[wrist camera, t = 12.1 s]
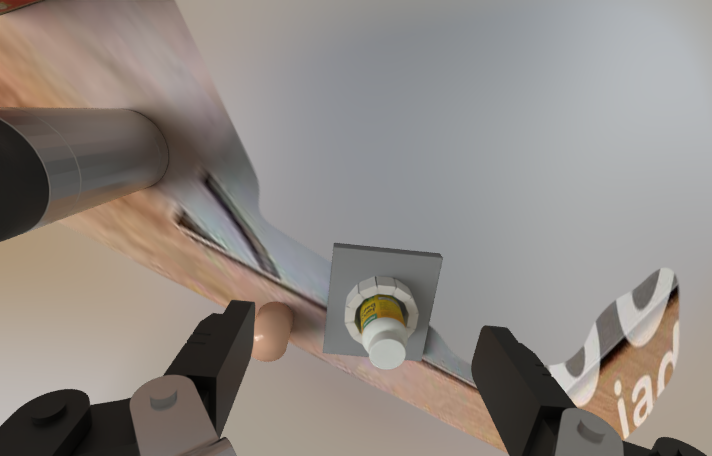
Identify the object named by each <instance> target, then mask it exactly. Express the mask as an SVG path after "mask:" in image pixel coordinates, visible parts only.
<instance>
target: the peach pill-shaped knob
mask: <svg viewBox="0 0 712 456" xmlns="http://www.w3.org/2000/svg"><path fill="white" fill-rule="evenodd" d="M293 321H294V315H293V313H292V311H291V309H290V308H289V307H288V306H286V305H285V304H283V303H280V302H270V303H267V304H265V305H263V306H262V307H261V308H260V310H259V312H258V314H257V316H256V319H255V324H254V343H253V350H252V354H251V356H252V357H254V358H255V359H257V360H260V361H264V362H270V361H275V360H277V359H279V358H280V357H282V355H283V354H284V353H285V351H286V347H287V344H288V340H289V336H290V332H291V329H292V325H293Z"/></svg>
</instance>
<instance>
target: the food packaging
mask: <svg viewBox="0 0 712 456" xmlns="http://www.w3.org/2000/svg"><path fill="white" fill-rule="evenodd" d="M40 1H43V0H0V15H1V14H4V13H7V12H10V11H13V10H16V9H19V8H22V7H24V6H27V5H30V4H33V3H37V2H40Z"/></svg>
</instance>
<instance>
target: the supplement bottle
mask: <svg viewBox="0 0 712 456" xmlns="http://www.w3.org/2000/svg"><path fill="white" fill-rule="evenodd" d="M360 317H361V334H362V343H363V346H364V348H365V350H366V351H367V352H368V353H369V358H370V360H371V362H372V364H373V365H375V366H376V367H378V368H380V369H385V370H388V369H394V368H396V367H398V366H399V365H401V364H402V362H403V361H404V359H405V357H406V350H405V347H406V345H407V341H408V334H407V330H406V326H405V323H404V319H403V316H402V312H401V309H400V305H399V303H398V301H397V299H396V298H395V297H394V296H393V295H384V294H377V295H374V296H372V297H369V298H366V299H364V300H363V302H362V304H361V307H360Z"/></svg>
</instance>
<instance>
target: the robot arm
mask: <svg viewBox="0 0 712 456" xmlns="http://www.w3.org/2000/svg"><path fill="white" fill-rule="evenodd" d="M168 157H169V154H168V148H167V144H166V142H165V139H164V137H163V135H162V134H161V132H160V130H159V129H158V128H157V127H156V126H155V125H154V123H152V122H151V121H150V120H149V119H147V118H146V117H145V116H143V115H141V114H139V113H137V112H134V111H131V110H125V109H98V108H21V107H0V242H1V241H4V240H7V239H10V238H12V237H15V236H17V235H20V234H23V233H26V232H28V231H31V230H34V229H36V228H39V227H42V226H45V225H47V224H50V223H53V222H55V221H58V220H60V219H63V218H66V217H68V216H71V215H74V214H77V213H79V212H82V211H85V210H87V209H90V208H93V207H95V206H98V205H101V204H104V203H106V202H109V201H112V200H114V199H117V198H120V197H122V196H125V195H128V194H131V193H134V192H136V191H139V190H142V189H144V188H147V187H150V186H152V185H153V184H155V183H157V182H158V181H159V180H160V179H161V178H162V177H163V175H164V173H165V171H166V169H167V165H168ZM254 324H255V303H254V302H249V301H239V300H231V302H230V303H229V305H228V307H227V308H226V310H225V312H224V313H223V314H216V313H213V314H211V315H210V316H208V317H207V318H205V319H204V320H202V321H201V322H200V323H199V324H198V326H197V327H196V329H195V330H194V332H193V334H192V335H191V336H190V337H189V339H188V340H187V343H185V345H184V346H183V348H182V349H181V350H180V352H179V353H178V355H177V356H176V358H175V359H174V361H173V362H172V364H171V365H170V366H169V368H168V369H167V371H166V372H165V374H164V375H163V376H162V377H158V378H155V379H153V380H151V381H149V382H147V383H145V384H144V385H142V386H141V387H140V388H139V389H138V390H137V391H136V392H135V393H134V394H133V396H132V397H131V398H128V399H124V400H119V401H113V402H107V403H100V404H94V405H90V401H89V397H88V395H86V393H84V392H82V391H80V390H75V389H64V390H58V391H53V392H50V393H47V394H44V395H41V396H39V397H37V398H35V399H33V400H31V401H29V402H27V403H26V404H24V405H23V406H22V407H20V408H19V409H18V410H17V411H16V412H14V413H13V414H12V415H11V416H10V417H9V418H8V419H7V420H6V421H5V422H4V423H3V424H2V425H1V426H0V456H237V455H236V453H235V451H234V449H233V447H232V445H231V443H230V441H229V440H228V439H227V438H226V437H223V438H222V439H220V436H221V434H222V431H223V429H224V426H225V423H226V421H227V418H228V416H229V413H230V410H231V408H232V405H233V403H234V400H235V397H236V395H237V392H238V390H239V387H240V384H241V382H242V379H243V377H244V374H245V371H246V368H247V366H248V364H249V361H250V358H251V354H252V350H253V343H254ZM471 370H472V377H473V380H474V382H475V384H476V386H477V388H478V390H479V393H480V395H481V397H482V399H483V401H484V403H485V405H486V407H487V409H488V411H489V414H490V416H491V418H492V420H493V422H494V424H495V426H496V428H497V430H498V432H499V435H500V437H501V439H502V441H503V443H504V445H505V447H506V449H507V451H508V454H509V456H707V455H705V454H704V453H702V452H701V451H699V450H698V449H696V448H694V447H692V446H691V445H689V444H686V443H684V442H682V441H680V440H677V439H674V438H669V437H661V438H658V439H657V440H656V442H655V444H654V446H653V448H652V450H650V449H647V448H644V447H641V446H637V445H635V444H632V443H629V442H625V441H622V440H621V438H620V436H619V434H618V433H617V432H616V431H615V430H614V429H613V428H612V427H611V426H610V425H609V424H608V423H607V422H605V421H604V420H603V419H601V418H600V417H598V416H596V415H595V414H593V413H590V412H588V411H585V410H583V409H578V408H577V407H576V406H575V404H574V403H573V402H572V400H571V399H570V398H569V397H568V395H567V394H566V393H565V391H564V390H563V389H562V388H561V386H560V385H559V384H558V383H557V381H556V380H555V379H554V377H551V374H550V372H549V371H548V370H547V368H546V367H544V365H543V363H542V362H541V361H540V359H539V358H538V357H537V356H536V354H535V353H533V352H532V351H531V350H530V349H528V348H527V347H526V346H524V345H523V344H522V343H518V341H517V340H516V338H515V337H514V336H513V335H512V333H511V332H510V331H509V329H508V328H505V327H497V326H483V328H482V329H481V332H480V335H479V339H478V342H477V346H476V349H475V353H474V356H473V360H472V366H471Z"/></svg>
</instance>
